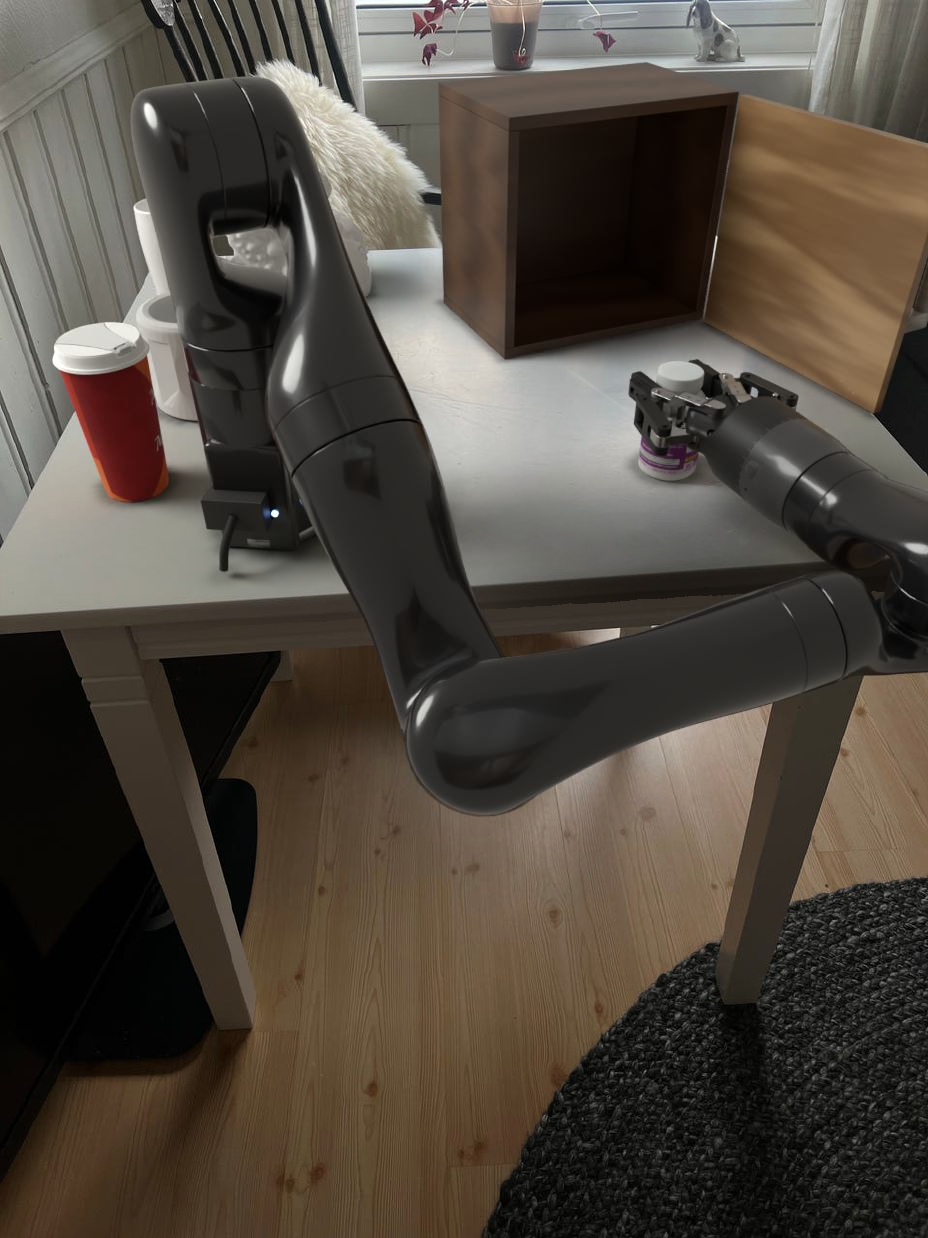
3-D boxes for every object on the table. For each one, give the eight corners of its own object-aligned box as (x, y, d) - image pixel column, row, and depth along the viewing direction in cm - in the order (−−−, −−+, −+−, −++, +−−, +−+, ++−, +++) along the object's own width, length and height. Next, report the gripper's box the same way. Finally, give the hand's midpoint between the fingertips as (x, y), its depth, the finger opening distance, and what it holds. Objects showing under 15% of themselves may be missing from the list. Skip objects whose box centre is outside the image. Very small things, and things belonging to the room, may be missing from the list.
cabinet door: (747, 310, 114) (789, 87, 98) (921, 398, 96) (1006, 142, 81) (703, 321, 112) (739, 94, 96) (873, 413, 94) (952, 153, 78)
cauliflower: (419, 226, 112) (264, 141, 101) (346, 374, 120) (196, 309, 109) (381, 191, 126) (243, 113, 116) (319, 325, 134) (184, 263, 124)
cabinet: (702, 319, 112) (739, 91, 97) (504, 359, 105) (509, 117, 89) (625, 270, 125) (646, 61, 109) (443, 302, 117) (438, 82, 102)
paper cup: (198, 477, 86) (165, 331, 77) (135, 517, 81) (92, 366, 72) (139, 455, 89) (101, 312, 80) (74, 492, 84) (26, 344, 75)
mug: (282, 396, 98) (268, 303, 92) (196, 434, 92) (175, 336, 86) (207, 359, 105) (189, 270, 99) (122, 392, 99) (98, 299, 93)
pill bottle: (695, 485, 84) (712, 386, 78) (635, 479, 85) (648, 381, 79) (696, 455, 88) (712, 359, 82) (639, 450, 89) (651, 354, 83)
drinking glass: (192, 354, 106) (164, 217, 97) (150, 341, 109) (118, 206, 99) (233, 333, 111) (210, 199, 101) (191, 321, 114) (165, 190, 104)
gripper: (696, 527, 72) (588, 429, 84) (845, 486, 76) (722, 398, 88) (712, 441, 67) (595, 349, 79) (870, 402, 71) (736, 321, 83)
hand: (663, 375), depth 83 cm, fingers closed on pill bottle, 5 cm apart
